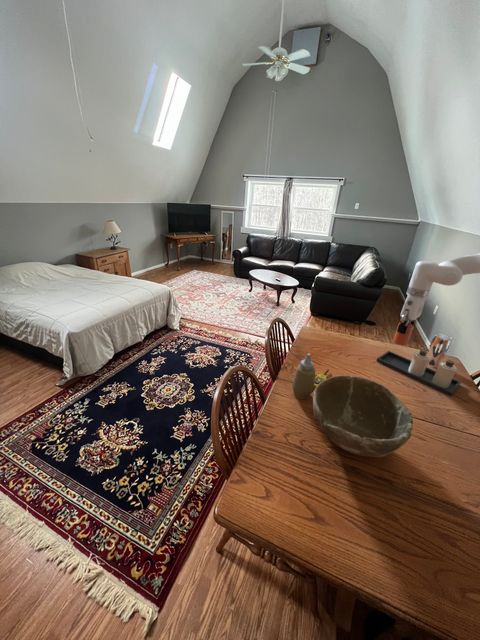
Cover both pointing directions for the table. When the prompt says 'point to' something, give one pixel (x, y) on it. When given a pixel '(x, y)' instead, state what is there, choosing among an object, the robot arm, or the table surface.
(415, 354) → the cream bottle
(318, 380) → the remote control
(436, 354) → the beer glass
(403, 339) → the terracotta bottle
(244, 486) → the table surface
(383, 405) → the bowl
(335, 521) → the table surface
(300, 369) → the squeeze bottle
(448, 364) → the cream bottle
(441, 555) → the table surface
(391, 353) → the tray
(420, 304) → the robot arm
